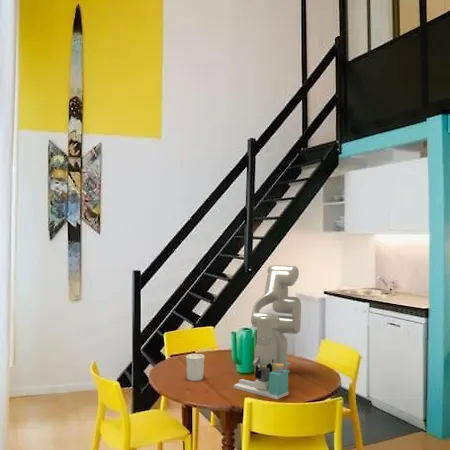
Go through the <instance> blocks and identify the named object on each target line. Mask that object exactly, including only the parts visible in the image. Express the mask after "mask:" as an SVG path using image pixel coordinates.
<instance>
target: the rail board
mask: <svg viewBox="0 0 450 450" xmlns="http://www.w3.org/2000/svg"><path fill="white" fill-rule="evenodd" d="M235 388H236V390H239V391H243V392H248V393H251V394H255V395H259V396H263V397H266V398H270V399H274V400H280V399H281V398H283V397H286V396H288V395H289V374H288V371H287V370H282V373H277V372H275V371H273V372H270V373H269V386H267V390H264V389H260V388H256V385H255V381H252V380H248V379H244V378H241V379H238V383H235V384H233V389H235Z"/></svg>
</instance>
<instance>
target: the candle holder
mask: <svg viewBox="0 0 450 450" xmlns="http://www.w3.org/2000/svg"><path fill="white" fill-rule="evenodd" d="M185 357H186V377H187V380H188V381H192V382H199V381H202V380H203V379H204V369H205V355H204V354H201V353H190V354H187V355H186V356H185Z"/></svg>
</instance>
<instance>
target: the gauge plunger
mask: <svg viewBox="0 0 450 450" xmlns="http://www.w3.org/2000/svg"><path fill="white" fill-rule="evenodd" d="M274 367H276V369H275V372H277V373H282V368H283V367H284V364H283V363H275V364H274Z"/></svg>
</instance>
